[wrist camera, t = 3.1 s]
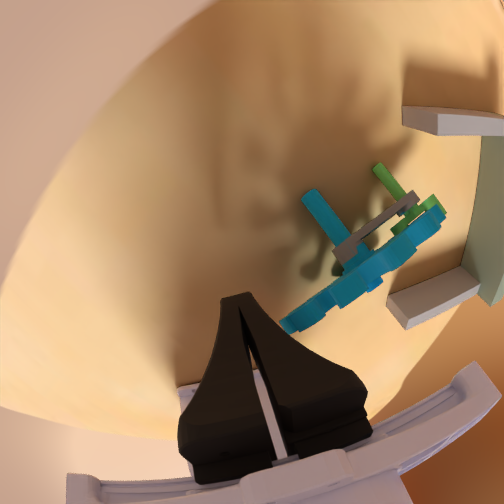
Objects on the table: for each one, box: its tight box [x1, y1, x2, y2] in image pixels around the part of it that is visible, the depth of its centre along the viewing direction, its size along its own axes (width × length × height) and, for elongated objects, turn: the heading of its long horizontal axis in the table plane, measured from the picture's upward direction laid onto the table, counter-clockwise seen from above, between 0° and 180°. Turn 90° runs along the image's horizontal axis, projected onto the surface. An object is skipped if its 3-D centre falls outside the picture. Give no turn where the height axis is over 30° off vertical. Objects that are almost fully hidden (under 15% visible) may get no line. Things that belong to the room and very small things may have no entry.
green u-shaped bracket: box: [386, 106, 504, 330], centre depth 16 cm, size 11×15×5 cm
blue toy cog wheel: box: [279, 162, 447, 335], centre depth 15 cm, size 11×6×10 cm
